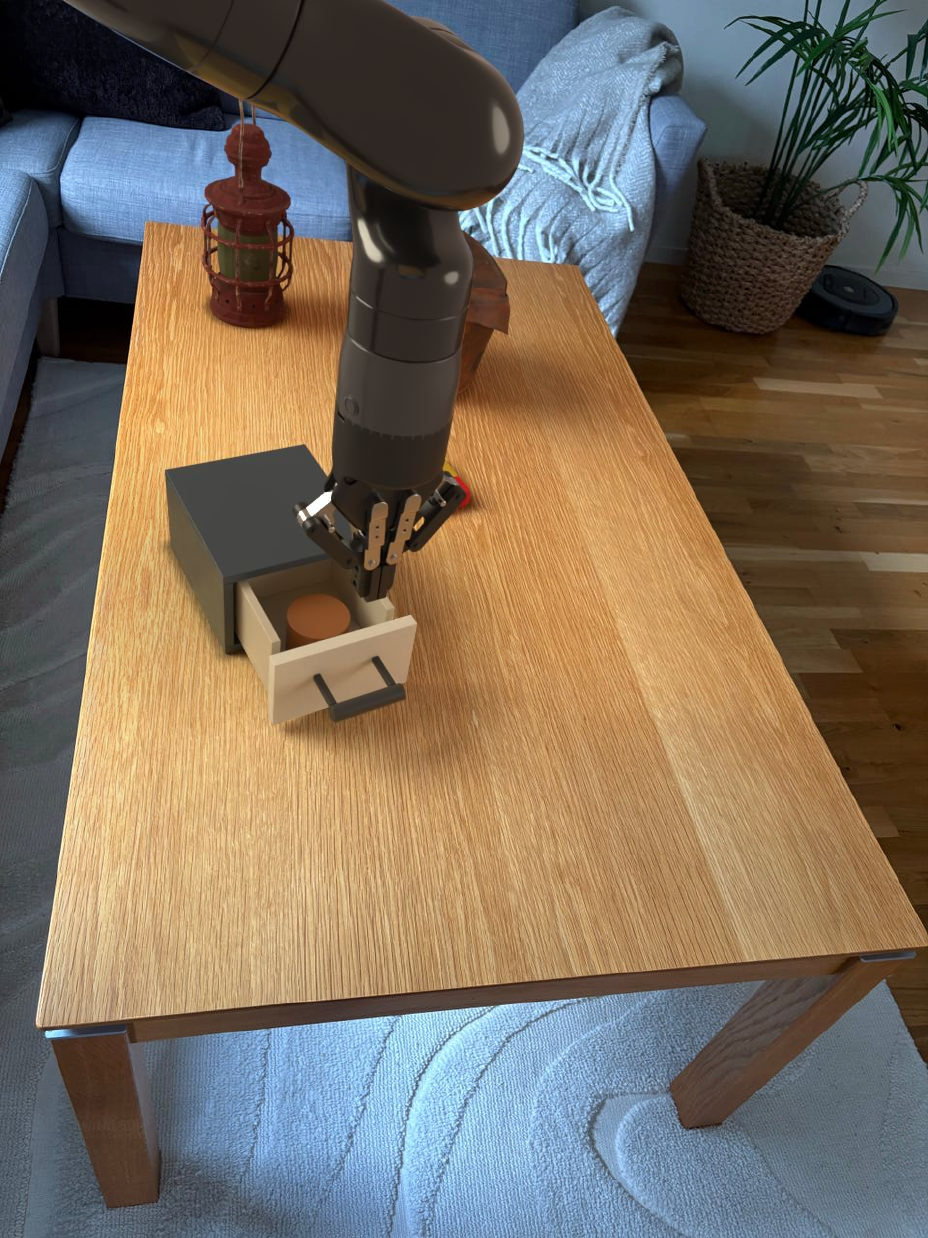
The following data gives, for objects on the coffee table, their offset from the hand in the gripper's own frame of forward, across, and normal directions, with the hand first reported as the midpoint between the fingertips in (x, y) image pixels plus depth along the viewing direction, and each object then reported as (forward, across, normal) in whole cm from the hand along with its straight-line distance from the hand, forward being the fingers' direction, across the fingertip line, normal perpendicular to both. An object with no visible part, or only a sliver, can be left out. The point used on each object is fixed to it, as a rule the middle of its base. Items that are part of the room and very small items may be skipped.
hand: (370, 593), depth 70 cm
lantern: (+17, -18, -72) cm, 76 cm away
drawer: (+16, 0, -7) cm, 18 cm away
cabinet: (+17, 0, -20) cm, 26 cm away
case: (+17, -35, -50) cm, 64 cm away
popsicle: (+17, -24, -31) cm, 43 cm away
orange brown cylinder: (+15, 0, -8) cm, 17 cm away
